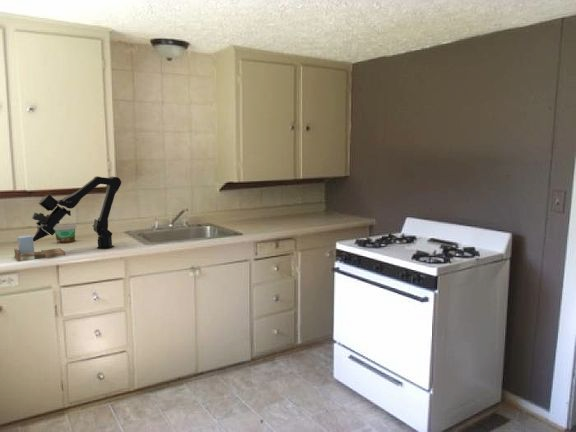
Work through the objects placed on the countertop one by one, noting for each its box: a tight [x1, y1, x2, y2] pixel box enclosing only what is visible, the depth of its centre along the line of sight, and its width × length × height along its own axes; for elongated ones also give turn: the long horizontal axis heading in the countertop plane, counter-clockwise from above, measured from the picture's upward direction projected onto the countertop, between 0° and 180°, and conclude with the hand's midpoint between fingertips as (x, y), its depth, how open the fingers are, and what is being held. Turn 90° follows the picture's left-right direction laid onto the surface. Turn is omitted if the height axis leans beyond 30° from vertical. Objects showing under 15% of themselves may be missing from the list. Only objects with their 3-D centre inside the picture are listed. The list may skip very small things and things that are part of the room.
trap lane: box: [14, 247, 66, 262], centre depth 236 cm, size 21×12×4 cm, turn 127°
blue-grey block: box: [17, 234, 35, 254], centre depth 232 cm, size 6×5×9 cm
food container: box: [54, 224, 77, 244], centre depth 269 cm, size 12×6×10 cm, turn 126°
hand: (33, 240), depth 234 cm, fingers closed, pressing on blue-grey block
